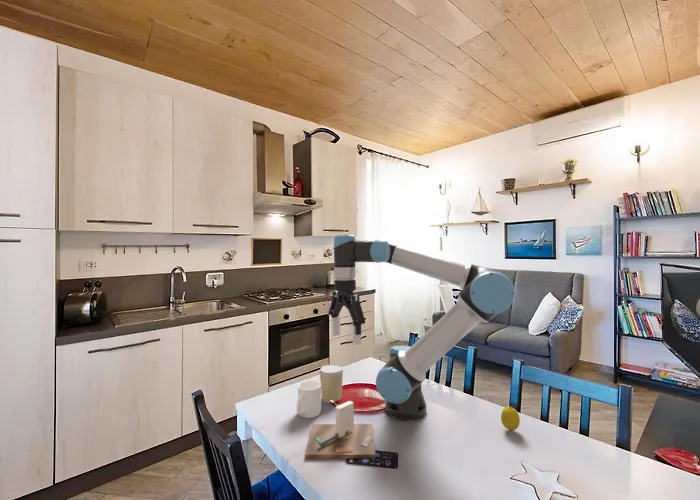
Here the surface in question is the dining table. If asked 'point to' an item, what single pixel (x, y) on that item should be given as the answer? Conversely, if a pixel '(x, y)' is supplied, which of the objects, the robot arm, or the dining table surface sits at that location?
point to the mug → (309, 399)
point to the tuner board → (341, 443)
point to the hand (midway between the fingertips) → (346, 339)
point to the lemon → (510, 418)
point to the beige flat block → (342, 421)
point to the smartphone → (377, 460)
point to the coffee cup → (331, 382)
